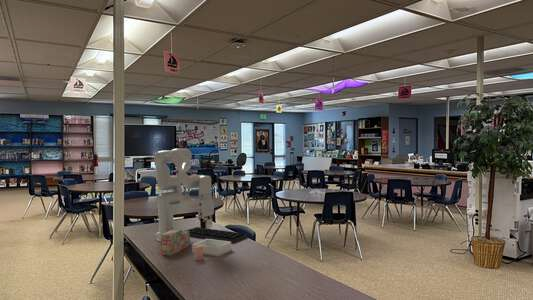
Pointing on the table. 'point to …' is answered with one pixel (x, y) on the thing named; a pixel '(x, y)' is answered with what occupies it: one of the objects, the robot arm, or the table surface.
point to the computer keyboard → (216, 234)
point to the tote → (213, 247)
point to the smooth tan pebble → (198, 253)
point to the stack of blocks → (174, 241)
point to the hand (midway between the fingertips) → (206, 226)
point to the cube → (207, 223)
